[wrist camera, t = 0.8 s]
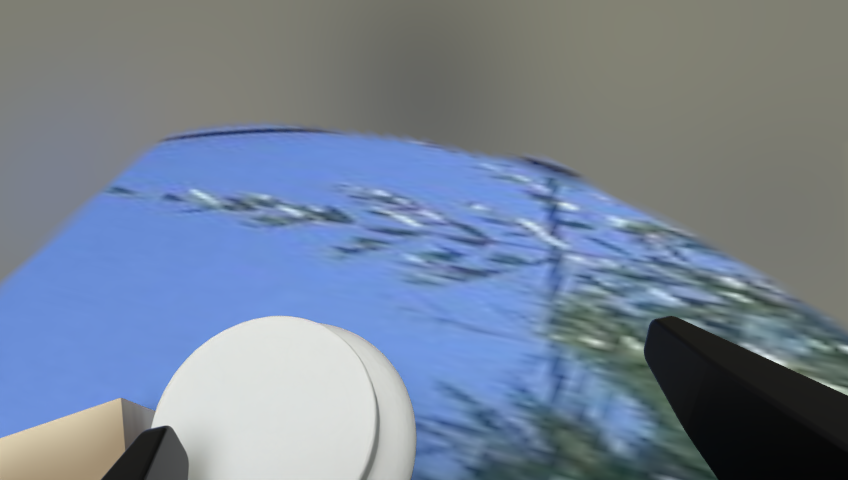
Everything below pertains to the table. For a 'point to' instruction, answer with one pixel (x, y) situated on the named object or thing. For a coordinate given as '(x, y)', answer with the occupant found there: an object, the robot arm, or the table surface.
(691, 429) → the robot arm
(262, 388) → the supplement bottle
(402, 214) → the table surface
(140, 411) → the beech block
